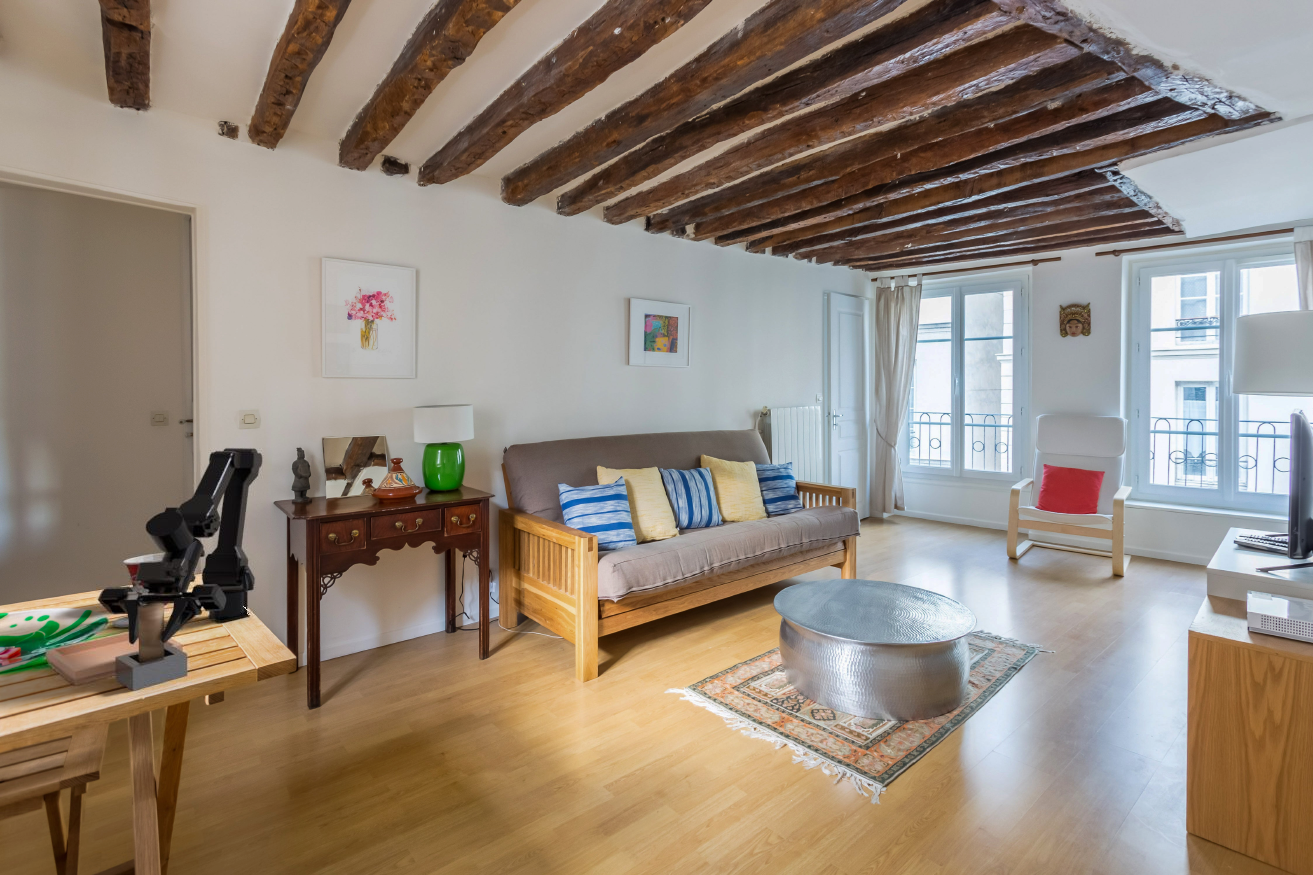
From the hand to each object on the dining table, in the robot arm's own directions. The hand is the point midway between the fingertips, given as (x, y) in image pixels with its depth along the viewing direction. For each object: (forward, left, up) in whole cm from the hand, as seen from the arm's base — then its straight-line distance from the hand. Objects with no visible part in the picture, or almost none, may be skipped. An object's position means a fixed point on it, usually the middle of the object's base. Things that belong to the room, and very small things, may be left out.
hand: (147, 642), depth 114 cm
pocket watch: (-10, -37, -7) cm, 39 cm away
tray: (0, -15, -7) cm, 16 cm away
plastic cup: (-17, -48, -7) cm, 51 cm away
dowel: (-1, -1, -7) cm, 7 cm away
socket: (-1, -1, -7) cm, 7 cm away
